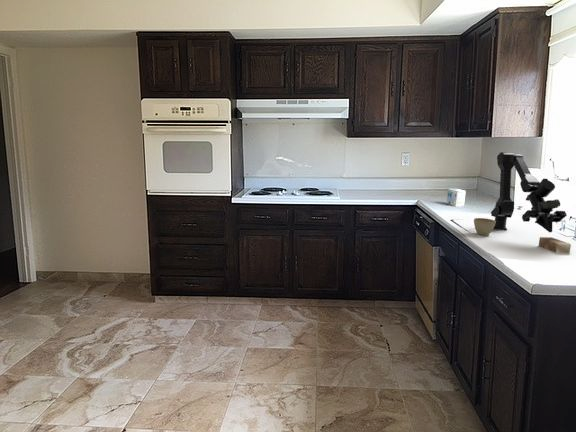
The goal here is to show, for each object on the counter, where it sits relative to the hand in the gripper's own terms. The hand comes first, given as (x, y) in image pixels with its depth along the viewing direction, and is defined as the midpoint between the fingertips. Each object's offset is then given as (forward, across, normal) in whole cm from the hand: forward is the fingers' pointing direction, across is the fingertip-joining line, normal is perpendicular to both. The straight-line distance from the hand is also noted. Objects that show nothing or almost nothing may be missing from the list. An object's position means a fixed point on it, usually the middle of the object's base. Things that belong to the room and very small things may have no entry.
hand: (550, 231), depth 211 cm
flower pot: (-12, -18, +22) cm, 31 cm away
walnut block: (+2, 0, +6) cm, 6 cm away
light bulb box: (-72, +12, +83) cm, 110 cm away
